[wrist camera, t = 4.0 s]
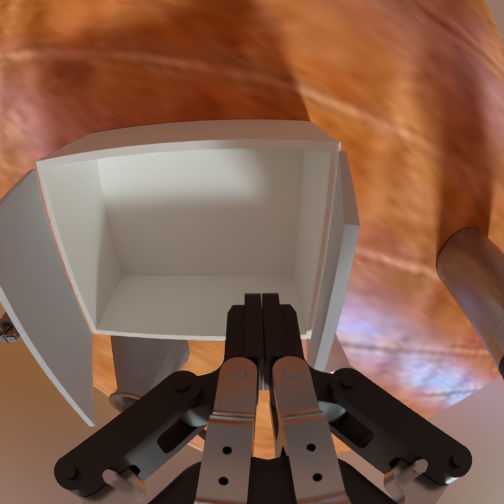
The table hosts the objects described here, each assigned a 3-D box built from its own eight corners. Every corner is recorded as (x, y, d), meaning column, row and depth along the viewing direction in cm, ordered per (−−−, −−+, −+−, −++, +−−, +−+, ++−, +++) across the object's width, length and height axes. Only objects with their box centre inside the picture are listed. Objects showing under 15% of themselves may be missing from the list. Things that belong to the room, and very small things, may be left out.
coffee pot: (106, 331, 42) (75, 413, 29) (136, 289, 37) (100, 385, 24) (216, 388, 49) (212, 465, 37) (260, 359, 45) (264, 447, 32)
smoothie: (291, 320, 40) (304, 411, 28) (336, 306, 39) (363, 395, 27) (303, 347, 43) (316, 431, 32) (344, 335, 42) (367, 417, 31)
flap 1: (-23, 231, 9) (-30, 234, 9) (95, 425, 18) (89, 426, 18) (35, 168, 17) (29, 170, 17) (92, 335, 27) (88, 335, 26)
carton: (310, 121, 26) (340, 142, 18) (297, 275, 36) (311, 338, 28) (91, 133, 26) (35, 161, 18) (120, 275, 36) (93, 333, 27)
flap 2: (338, 150, 18) (346, 151, 18) (310, 340, 27) (315, 341, 27) (344, 223, 9) (360, 225, 9) (291, 443, 18) (298, 444, 18)
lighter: (24, 306, 39) (-2, 349, 31) (14, 291, 37) (-16, 333, 29) (53, 301, 38) (25, 348, 30) (42, 283, 37) (10, 330, 28)
